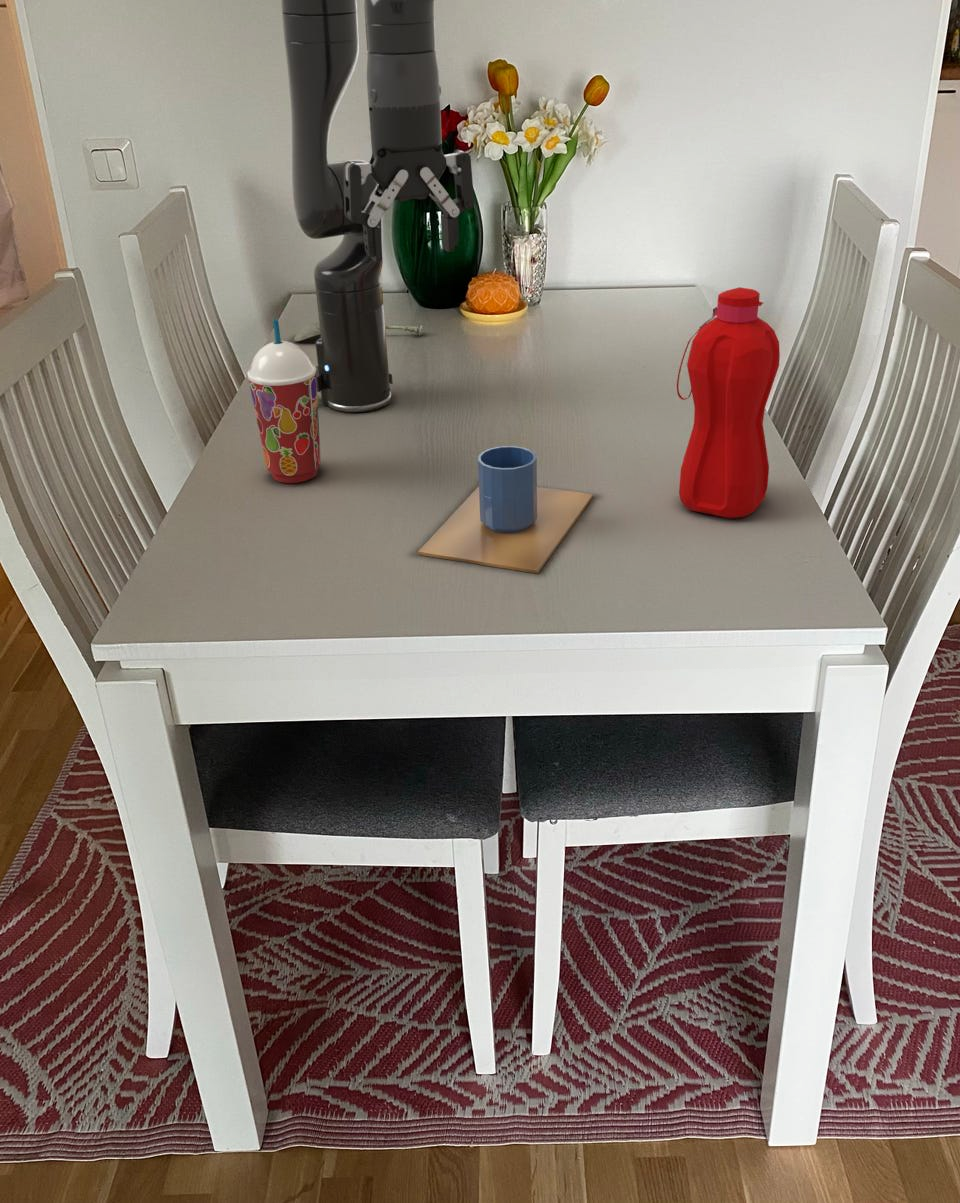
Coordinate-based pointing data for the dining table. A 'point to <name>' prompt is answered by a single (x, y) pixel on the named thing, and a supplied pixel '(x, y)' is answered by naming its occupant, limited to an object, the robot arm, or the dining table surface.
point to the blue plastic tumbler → (508, 488)
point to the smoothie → (286, 409)
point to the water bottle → (729, 408)
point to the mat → (508, 533)
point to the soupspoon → (314, 330)
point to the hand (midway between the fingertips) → (412, 255)
